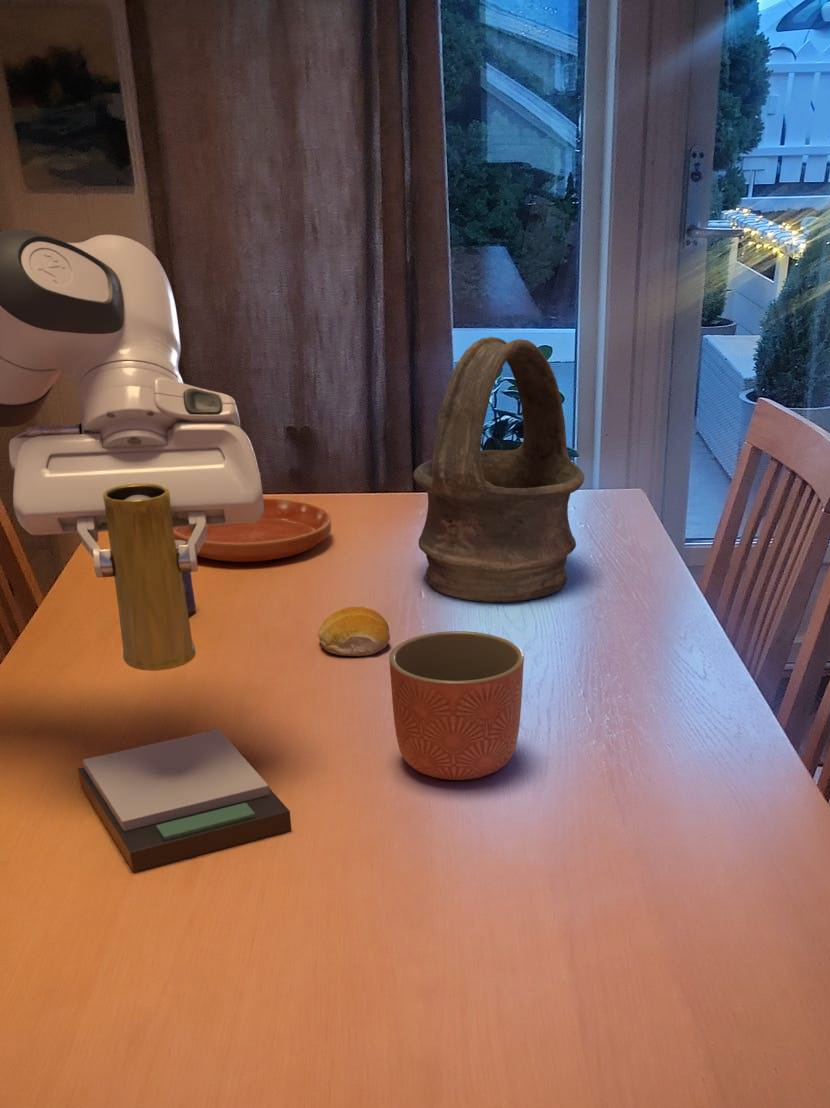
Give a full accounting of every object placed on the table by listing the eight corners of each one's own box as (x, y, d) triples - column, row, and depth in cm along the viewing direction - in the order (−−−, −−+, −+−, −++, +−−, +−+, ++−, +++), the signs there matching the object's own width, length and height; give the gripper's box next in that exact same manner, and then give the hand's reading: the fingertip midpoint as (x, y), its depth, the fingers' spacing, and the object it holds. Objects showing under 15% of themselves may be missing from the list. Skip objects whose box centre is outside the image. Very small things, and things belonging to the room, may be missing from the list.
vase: (145, 677, 102) (118, 507, 95) (111, 656, 106) (83, 490, 99) (209, 659, 106) (188, 492, 98) (174, 639, 110) (151, 477, 102)
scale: (133, 872, 101) (128, 841, 100) (81, 787, 114) (75, 758, 112) (291, 830, 107) (289, 800, 105) (225, 753, 120) (222, 725, 118)
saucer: (201, 517, 187) (199, 493, 185) (348, 524, 184) (347, 499, 182) (146, 565, 168) (143, 539, 166) (309, 573, 165) (307, 546, 163)
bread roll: (387, 628, 148) (386, 596, 146) (391, 656, 141) (390, 623, 138) (318, 630, 147) (316, 598, 145) (319, 659, 140) (316, 626, 138)
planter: (420, 802, 111) (418, 691, 106) (375, 746, 121) (370, 642, 115) (543, 776, 116) (546, 669, 110) (490, 724, 125) (490, 623, 120)
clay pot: (615, 585, 161) (631, 342, 146) (469, 621, 150) (469, 361, 135) (518, 542, 177) (522, 318, 161) (378, 571, 166) (368, 333, 150)
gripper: (-2, 406, 100) (7, 561, 97) (253, 396, 103) (269, 546, 100) (15, 449, 106) (24, 596, 103) (255, 438, 109) (271, 581, 106)
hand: (147, 571), depth 101 cm, fingers closed on vase, 5 cm apart
